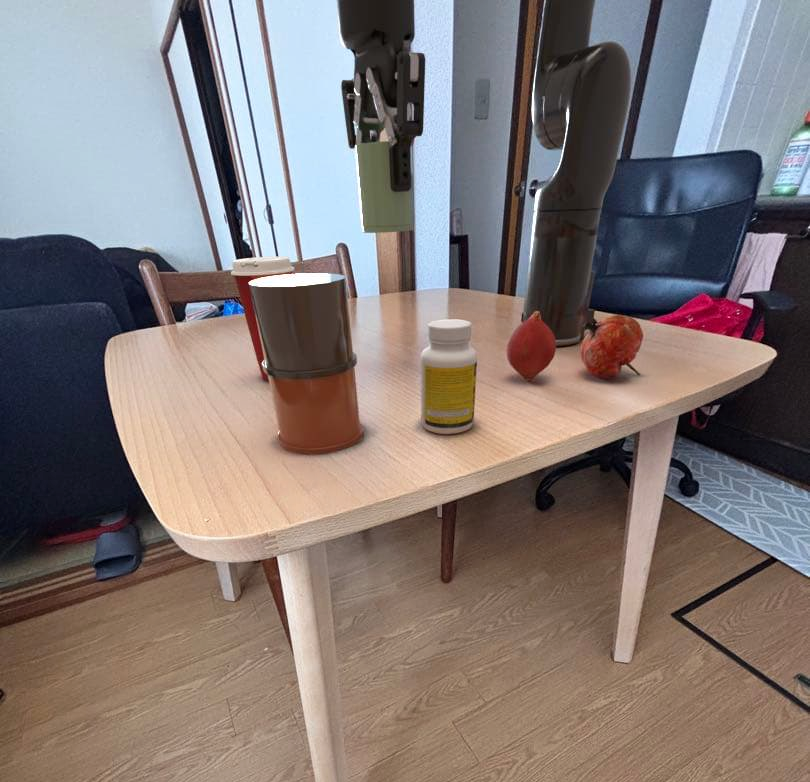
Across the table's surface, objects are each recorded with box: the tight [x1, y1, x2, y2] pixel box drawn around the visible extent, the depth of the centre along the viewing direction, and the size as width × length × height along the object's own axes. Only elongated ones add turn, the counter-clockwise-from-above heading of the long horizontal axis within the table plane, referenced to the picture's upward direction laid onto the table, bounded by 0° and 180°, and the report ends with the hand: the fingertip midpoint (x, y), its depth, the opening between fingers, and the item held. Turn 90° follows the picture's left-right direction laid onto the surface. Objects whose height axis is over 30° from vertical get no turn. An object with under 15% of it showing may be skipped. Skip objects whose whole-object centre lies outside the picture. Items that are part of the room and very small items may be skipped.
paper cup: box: [230, 256, 295, 382], centre depth 61 cm, size 8×8×14 cm
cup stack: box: [249, 272, 365, 455], centre depth 43 cm, size 9×9×14 cm
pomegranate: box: [580, 314, 644, 380], centre depth 58 cm, size 7×7×10 cm
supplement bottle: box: [420, 318, 478, 435], centre depth 46 cm, size 5×5×10 cm
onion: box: [506, 311, 557, 381], centre depth 57 cm, size 6×6×8 cm
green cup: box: [354, 140, 415, 234], centre depth 54 cm, size 6×6×8 cm
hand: (385, 192), depth 54 cm, fingers closed on green cup, 6 cm apart
